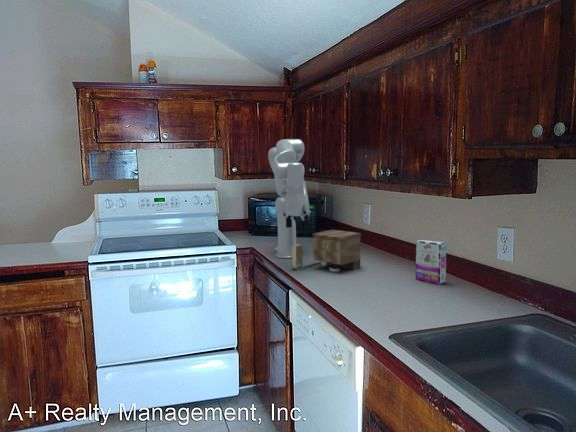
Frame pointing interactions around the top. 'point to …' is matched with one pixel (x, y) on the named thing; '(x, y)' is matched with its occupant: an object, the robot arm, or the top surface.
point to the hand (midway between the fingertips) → (296, 228)
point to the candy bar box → (431, 261)
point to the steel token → (334, 269)
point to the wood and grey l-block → (298, 259)
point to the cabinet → (337, 248)
